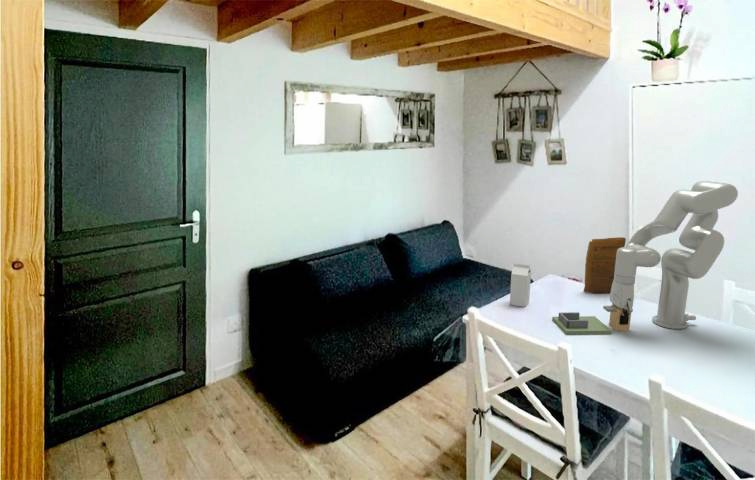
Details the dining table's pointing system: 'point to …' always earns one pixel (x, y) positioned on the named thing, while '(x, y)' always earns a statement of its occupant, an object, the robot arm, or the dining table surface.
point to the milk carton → (520, 285)
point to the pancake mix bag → (601, 264)
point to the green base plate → (580, 324)
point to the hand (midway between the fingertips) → (619, 320)
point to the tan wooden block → (617, 318)
